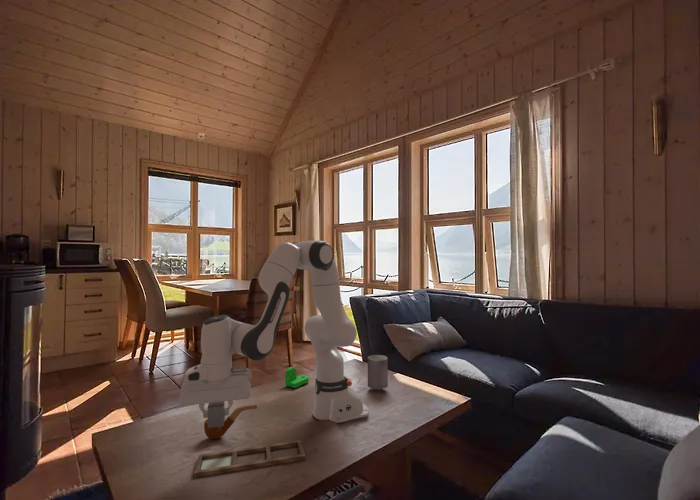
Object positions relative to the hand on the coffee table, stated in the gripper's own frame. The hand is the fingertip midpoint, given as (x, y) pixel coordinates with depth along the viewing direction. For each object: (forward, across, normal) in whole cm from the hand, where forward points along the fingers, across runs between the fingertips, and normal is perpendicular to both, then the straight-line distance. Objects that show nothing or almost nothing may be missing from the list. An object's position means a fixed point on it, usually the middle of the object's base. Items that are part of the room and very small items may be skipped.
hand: (216, 415), depth 110 cm
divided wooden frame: (+15, -10, 0) cm, 18 cm away
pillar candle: (+15, -69, -48) cm, 86 cm away
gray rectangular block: (+2, 0, 0) cm, 2 cm away
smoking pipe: (+15, -3, -18) cm, 24 cm away
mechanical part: (+15, -33, -64) cm, 73 cm away
